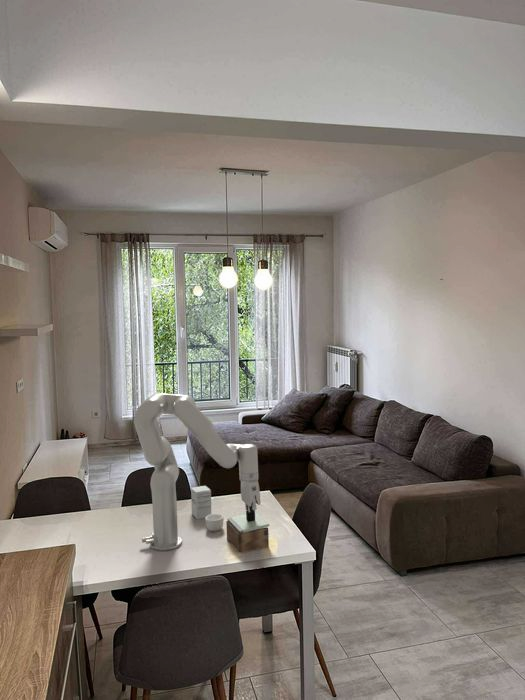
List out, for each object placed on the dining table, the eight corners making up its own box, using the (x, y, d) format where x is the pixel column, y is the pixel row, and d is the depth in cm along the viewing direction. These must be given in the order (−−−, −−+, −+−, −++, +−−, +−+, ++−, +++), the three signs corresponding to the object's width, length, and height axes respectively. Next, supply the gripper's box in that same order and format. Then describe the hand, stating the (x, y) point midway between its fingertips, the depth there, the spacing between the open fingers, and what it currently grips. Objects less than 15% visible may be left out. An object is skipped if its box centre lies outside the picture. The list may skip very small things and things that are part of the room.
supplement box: (191, 514, 253) (190, 487, 252) (206, 511, 256) (205, 485, 255) (196, 519, 246) (195, 492, 245) (212, 516, 249) (211, 489, 248)
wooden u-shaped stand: (239, 553, 211) (238, 534, 210) (226, 538, 225) (226, 520, 224) (269, 547, 216) (268, 528, 215) (254, 533, 229) (254, 515, 229)
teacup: (221, 533, 230) (221, 520, 230) (203, 532, 231) (203, 520, 231) (226, 524, 240) (225, 512, 240) (209, 523, 241) (208, 511, 241)
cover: (239, 533, 211) (239, 530, 211) (227, 520, 224) (227, 518, 224) (269, 526, 215) (269, 523, 215) (255, 514, 229) (255, 511, 229)
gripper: (264, 479, 213) (266, 525, 214) (250, 469, 227) (252, 512, 228) (246, 482, 210) (249, 528, 212) (233, 472, 224) (235, 516, 225)
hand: (250, 520), depth 220 cm, fingers closed
